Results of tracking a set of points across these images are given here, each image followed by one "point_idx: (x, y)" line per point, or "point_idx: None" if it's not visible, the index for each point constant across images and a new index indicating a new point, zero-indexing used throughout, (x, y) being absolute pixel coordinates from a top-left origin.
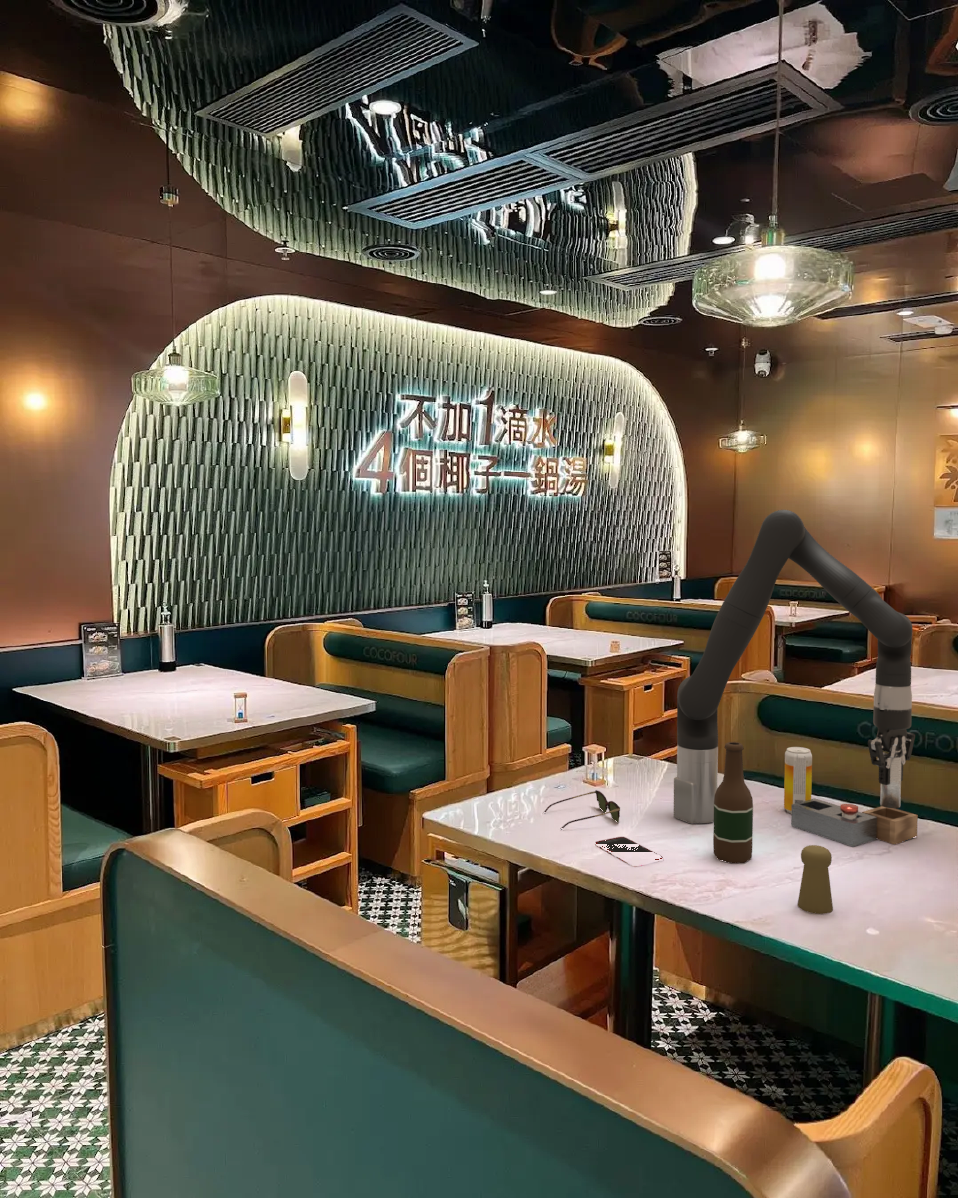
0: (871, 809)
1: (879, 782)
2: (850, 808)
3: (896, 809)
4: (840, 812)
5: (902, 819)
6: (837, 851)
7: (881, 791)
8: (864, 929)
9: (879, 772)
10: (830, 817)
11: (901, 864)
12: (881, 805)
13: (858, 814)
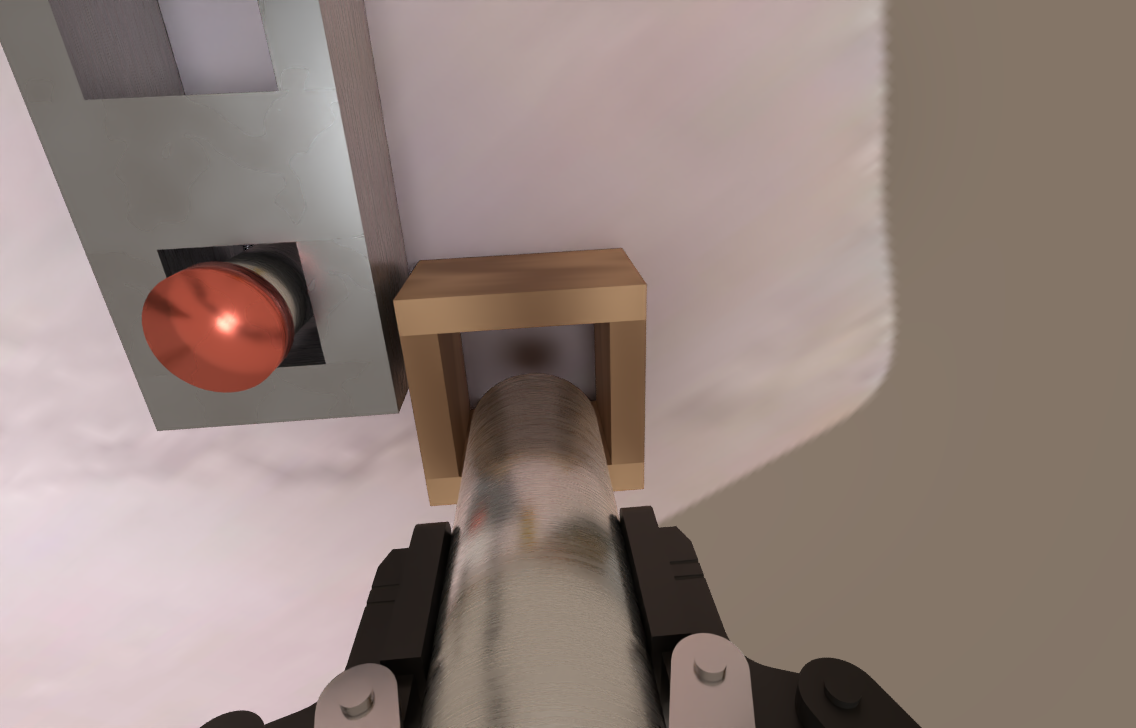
0: (495, 297)
1: (417, 527)
2: (185, 372)
3: (637, 374)
4: (232, 232)
5: None
6: (107, 369)
7: (465, 465)
8: None
9: (361, 634)
10: (92, 262)
11: (289, 574)
12: (475, 409)
13: (326, 325)
